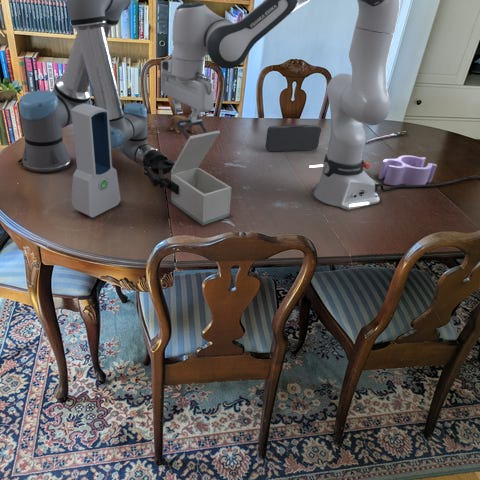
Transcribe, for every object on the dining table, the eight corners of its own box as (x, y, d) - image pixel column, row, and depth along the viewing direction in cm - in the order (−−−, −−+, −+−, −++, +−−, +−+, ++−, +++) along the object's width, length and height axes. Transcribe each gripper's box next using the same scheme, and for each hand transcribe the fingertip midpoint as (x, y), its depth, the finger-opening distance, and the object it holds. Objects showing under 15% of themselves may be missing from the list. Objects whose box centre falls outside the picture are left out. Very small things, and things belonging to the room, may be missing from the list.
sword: (403, 131, 224) (404, 129, 223) (408, 133, 222) (409, 131, 221) (360, 143, 208) (360, 140, 207) (365, 145, 206) (366, 142, 205)
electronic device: (90, 219, 132) (80, 115, 116) (71, 210, 135) (59, 108, 119) (121, 203, 141) (116, 105, 125) (103, 195, 144) (96, 99, 128)
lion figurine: (198, 128, 202) (199, 107, 197) (202, 132, 198) (203, 111, 193) (165, 129, 197) (165, 108, 192) (167, 134, 193) (168, 112, 188)
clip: (390, 188, 168) (396, 170, 164) (372, 173, 178) (376, 156, 174) (435, 185, 175) (441, 168, 171) (415, 170, 184) (420, 154, 181)
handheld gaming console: (315, 147, 196) (319, 124, 190) (317, 149, 194) (322, 126, 188) (264, 149, 189) (267, 125, 183) (266, 152, 187) (269, 127, 181)
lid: (220, 132, 132) (206, 109, 134) (191, 138, 126) (177, 114, 128) (198, 166, 146) (186, 145, 147) (171, 173, 140) (159, 151, 141)
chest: (229, 216, 141) (231, 187, 136) (202, 225, 135) (203, 195, 130) (197, 194, 151) (198, 166, 146) (170, 202, 145) (170, 174, 140)
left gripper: (179, 163, 164) (220, 187, 151) (122, 177, 151) (161, 206, 138) (180, 143, 160) (221, 166, 147) (121, 156, 147) (161, 183, 134)
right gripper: (221, 77, 122) (216, 128, 130) (175, 59, 134) (174, 106, 142) (202, 79, 119) (198, 131, 126) (157, 60, 131) (156, 109, 138)
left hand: (192, 185), depth 142 cm, fingers closed on chest, 10 cm apart
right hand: (185, 118), depth 134 cm, fingers open, 5 cm apart
